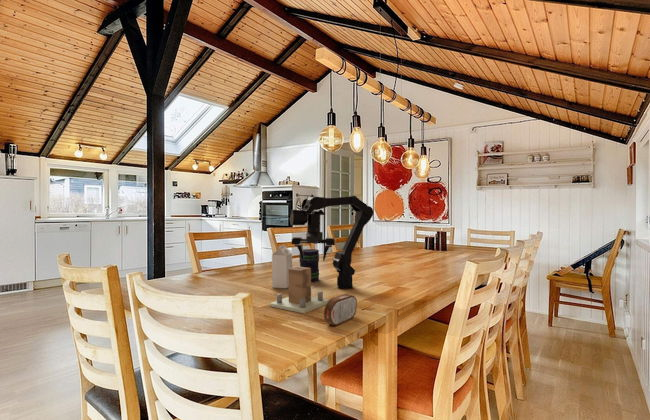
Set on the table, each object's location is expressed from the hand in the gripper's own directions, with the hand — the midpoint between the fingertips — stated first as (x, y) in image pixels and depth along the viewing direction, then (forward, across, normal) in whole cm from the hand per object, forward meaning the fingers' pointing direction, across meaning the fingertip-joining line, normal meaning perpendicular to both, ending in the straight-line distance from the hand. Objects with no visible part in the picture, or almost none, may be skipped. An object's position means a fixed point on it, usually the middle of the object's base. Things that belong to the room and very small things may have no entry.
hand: (313, 260), depth 158 cm
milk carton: (+14, -15, +7) cm, 21 cm away
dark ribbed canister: (+13, -4, +21) cm, 25 cm away
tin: (+13, +13, -42) cm, 46 cm away
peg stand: (+13, -3, -22) cm, 26 cm away
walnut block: (+12, -3, -22) cm, 26 cm away
